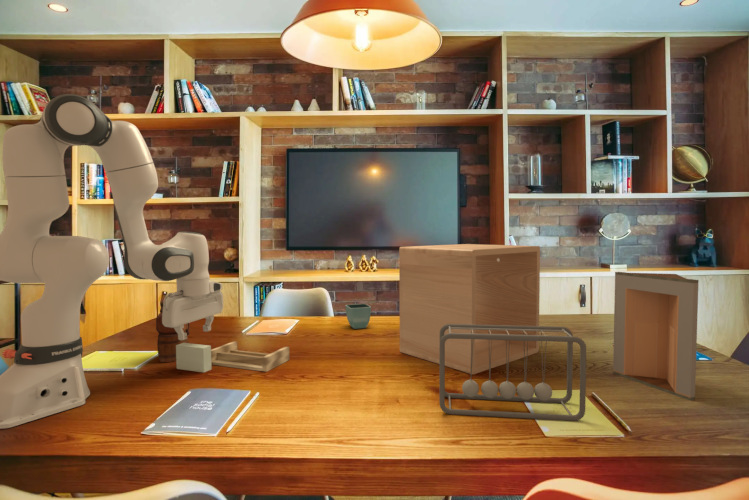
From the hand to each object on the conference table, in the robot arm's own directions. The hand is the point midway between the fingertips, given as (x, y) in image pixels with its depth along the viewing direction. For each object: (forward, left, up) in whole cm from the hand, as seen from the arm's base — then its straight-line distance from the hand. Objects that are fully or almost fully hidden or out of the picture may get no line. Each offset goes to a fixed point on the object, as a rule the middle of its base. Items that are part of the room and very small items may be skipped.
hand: (195, 335), depth 128 cm
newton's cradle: (+1, -87, -10) cm, 87 cm away
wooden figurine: (+6, +14, -10) cm, 19 cm away
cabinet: (+31, -123, -10) cm, 127 cm away
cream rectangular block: (-1, 0, -10) cm, 10 cm away
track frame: (+10, -11, -10) cm, 18 cm away
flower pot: (+64, -24, -10) cm, 69 cm away
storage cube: (+43, -72, -10) cm, 84 cm away
